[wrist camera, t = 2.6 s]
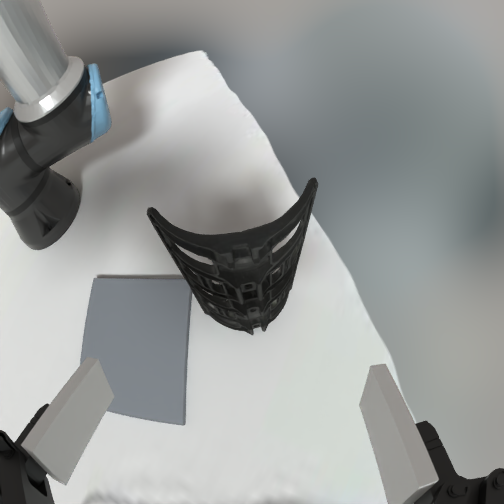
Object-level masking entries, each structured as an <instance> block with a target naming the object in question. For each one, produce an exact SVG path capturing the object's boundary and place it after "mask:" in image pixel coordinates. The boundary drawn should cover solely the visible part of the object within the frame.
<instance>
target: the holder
mask: <svg viewBox="0 0 504 504" xmlns="http://www.w3.org/2000/svg"><path fill="white" fill-rule="evenodd" d="M317 188H318V182H317V180H316V178H311V179H310V180H309V181H308V183H307V186H306V188H305V190H304V192H303V194H302V195H301V197H300V198H299V200H298V201H297V202H296V203H295V204H294V205H293V206H292V207H291V208H290V209H289V210H288V211H287V212H286V213H285V214H284V215H283V216H282V217H280V218H278V219H277V220H275V221H273V222H271V223H268V224H265V225H262V226H260V227H256V228H252V229H248V230H245V231H242V232H235V233H228V234H217V235H202V234H195V233H192V232H188V231H185V230H182V229H180V228H178V227H176V226H174V225H172V224H171V223H169V222H168V221H167V220H166V219H165V218H164V217H162V216H161V215H160V213H159V212H158V211H157V210H156V209H154V208H153V207H150V208H148V210H147V215H148V217H149V219H150V221H151V223H152V225H153V226H154V228H155V230H156V231H157V233H158V235H159V236H160V238H161V240H162V241H163V243H164V245H165V246H166V248H167V250H168V251H169V253H170V255H171V256H172V258H173V260H174V261H175V263H176V265H177V266H178V268H179V270H180V271H181V273H182V275H183V276H184V278H185V280H186V281H187V283H188V285H189V286H190V288H191V290H192V292H193V294H194V295H195V297H196V299H197V301H198V303H199V304H200V306H201V308H202V309H203V311H204V313H205V314H208V315H210V316H211V317H212V318H213V319H214V320H216V321H217V322H218V323H220V324H222V325H224V326H226V327H228V328H231V329H234V330H239V331H245V332H247V333H249V334H251V335H253V334H254V333H253V329H254V328H258V327H261V328H262V331H265V330H266V328H267V326H268V324H269V323H270V322H272V321H273V320H274V319H275V318H276V317H277V316H278V315H279V313H280V312H281V311H282V309H283V307H284V305H285V303H286V301H287V298H288V294H289V291H290V290H291V289H292V285H293V281H294V277H295V273H296V269H297V265H298V261H299V257H300V254H301V250H302V246H303V243H304V239H305V235H306V231H307V227H308V223H309V219H310V215H311V211H312V207H313V203H314V199H315V195H316V191H317ZM300 220H301V221H300ZM299 222H300V224H299V226H298V228H297V230H296V232H295V233H294V235H293V236H292V238H291V239H290V240H289V241H288V242H287V243H286V244H285V245H284V246H283V247H281V248H280V249H279V250H277V251H276V252H275V253H272V249H273V248H274V247H275V246H276V245H277V244H278V243H279V242H281V241H282V240H283V239H284V238H286V236H287V235H288V234H289V233H290V232H291V231H292V230H293V229H294V228H295V227H296V226H297V224H298V223H299ZM175 243H176V244H177V245H179V246H181V247H182V248H184V249H186V250H188V251H190V252H192V253H194V254H197V255H199V256H203V257H207V258H208V259H210V260H212V262H213V264H214V265H209V264H206V263H202V262H199V261H197V260H194V259H193V258H191V257H189V256H188V255H186V254H185V253H184V252H182V251H181V250H180V249H179V248H178V247H177V246H176V244H175ZM279 267H280V269H279V270H278V271H276V272H275V273H274V274H272V273H273V272H274V271H275V270H276V269H277V268H279ZM190 269H191V270H192V271H193V272H194V273H195V274H196V275H195V274H194V273H193V272H192V271H191V270H190ZM212 280H214V281H217V282H219V283H221V284H222V285H219V284H214V283H213V282H212ZM204 290H205V291H207V292H209V293H211V294H213V296H212V295H210V294H208V293H207V292H205V291H204Z"/></svg>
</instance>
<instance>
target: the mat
mask: <svg viewBox="0 0 504 504" xmlns="http://www.w3.org/2000/svg"><path fill="white" fill-rule="evenodd" d="M191 299H192V290H191V288H190V286H189V285H188V283H187V281H186V280H185V279H118V278H94V280H93V284H92V289H91V294H90V299H89V305H88V310H87V316H86V322H85V329H84V336H83V344H82V352H81V362H80V365H81V364H82V363H83V362H84V360H85V359H86V358H87V357H90V358H95V359H99V362H100V364H101V367H102V369H103V372H104V374H105V376H106V379H107V381H108V383H109V386H110V388H111V390H112V392H113V394H114V398H113V400H112V402H111V403H110V405H109V407H108V409H107V410H106V411H109V412H113V413H117V414H121V415H125V416H130V417H135V418H140V419H145V420H150V421H156V422H162V423H169V424H176V425H185V415H186V379H187V357H188V340H189V325H190V311H191Z"/></svg>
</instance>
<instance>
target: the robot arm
mask: <svg viewBox="0 0 504 504" xmlns="http://www.w3.org/2000/svg"><path fill="white" fill-rule="evenodd" d="M0 82H1V83H2V84H3V85H4V86H5V88H6V89H7V90H8V91H9V93H10V94H11V95H12V96H13V97H14V98H15V100H16V102H15V107H14V113H13V109H11V108H9V107H7V108H5V109H4V110H3V111H1V112H0V208H1V209H2V210H3V211H4V212H5V213H6V214H7V215H8V216H9V217H10V218H11V220H12V223H13V225H14V227H15V229H16V230H17V232H18V234H19V236H20V238H21V240H22V241H23V242H24V243H25V244H26V245H27V246H29V247H30V248H31V249H34V250H41V249H44V248H46V247H48V246H50V245H52V244H53V243H54V242H56V241H57V240H58V239H59V238H60V237H61V236H62V235H63V234H64V233H65V231H66V230H67V229H68V227H69V226H70V224H71V223H72V221H73V219H74V217H75V215H76V213H77V210H78V207H79V202H80V195H79V192H78V190H77V188H76V187H75V186H74V184H73V183H72V182H71V181H70V180H68V179H66V178H65V177H63V176H62V175H60V174H58V173H57V172H55V171H53V170H52V169H50V166H51V165H53V164H54V163H56V162H58V161H59V160H61V159H63V158H64V157H66V156H68V155H69V154H71V153H73V152H75V151H76V150H78V149H80V148H82V147H83V146H85V145H87V144H89V143H92V142H93V141H94V140H95V139H96V138H98V137H100V136H101V135H103V134H105V133H106V132H107V131H108V130H109V129H110V127H111V123H112V121H111V116H110V112H109V108H108V104H107V100H106V97H105V93H104V89H103V85H102V81H101V77H100V73H99V69H98V65H97V64H91V65H90V64H89V65H88V66H86V67H85V65H84V63H83V61H82V60H81V59H80V58H78V57H75V56H66V53H65V52H64V50H63V48H62V46H61V44H60V42H59V40H58V38H57V36H56V34H55V32H54V30H53V28H52V26H51V23H50V21H49V19H48V17H47V15H46V13H45V11H44V8H43V6H42V4H41V2H40V0H0ZM113 398H114V394H113V392H112V390H111V388H110V386H109V383H108V381H107V379H106V376H105V374H104V372H103V369H102V367H101V364H100V362H99V359H95V358H90V357H87V358H86V359H85V360H84V362H83V363H82V364H81V365H80V366H79V368H78V369H77V370H76V371H75V373H74V374H73V375H72V376H71V378H70V379H69V380H68V382H67V383H66V384H65V385H64V387H63V388H62V389H61V391H60V392H59V393H58V395H57V396H56V397H55V398H54V400H53V401H52V402H51V404H50V405H49V404H45V405H44V406H43V407H41V408H40V409H39V410H38V411H37V413H36V414H35V415H34V417H33V418H32V419H31V421H30V423H28V425H27V426H26V428H25V429H24V430H23V432H22V433H21V434H20V436H19V437H18V439H17V440H16V441H15V442H13V441H12V440H11V439H10V438H9V436H8V435H7V434H6V433H5V432H4V431H2V430H0V504H54V500H53V497H52V493H51V489H50V485H49V481H48V479H47V477H46V474H47V473H48V474H49V475H50V476H51V477H52V478H53V479H54V480H56V481H58V482H60V483H62V484H64V485H67V483H68V481H69V479H70V477H71V475H72V473H73V471H74V469H75V467H76V465H77V463H78V461H79V459H80V457H81V456H82V454H83V452H84V450H85V448H86V446H87V444H88V443H89V441H90V439H91V437H92V435H93V433H94V432H95V430H96V428H97V426H98V424H99V423H100V421H101V419H102V417H103V416H104V414H105V412H106V410H107V409H108V407H109V405H110V403H111V402H112V400H113ZM359 406H360V409H361V412H362V415H363V418H364V421H365V424H366V428H367V431H368V434H369V437H370V441H371V444H372V447H373V451H374V454H375V457H376V461H377V464H378V468H379V471H380V475H381V479H382V482H383V486H384V490H385V494H386V498H387V502H388V504H413V503H414V504H504V469H502V468H499V469H495V470H494V471H493V472H491V473H490V474H489V475H488V476H486V477H481V478H476V479H466V478H464V477H462V476H459V475H458V474H457V473H456V472H455V470H454V468H453V465H452V463H451V461H450V459H449V457H448V455H447V453H446V450H445V448H444V446H442V445H443V444H442V442H441V440H440V439H439V436H438V434H437V432H436V430H435V428H434V427H433V426H432V425H431V424H430V423H428V422H427V421H423V422H420V423H417V424H415V422H414V420H413V418H412V416H411V414H410V412H409V410H408V408H407V406H406V403H405V401H404V399H403V397H402V395H401V393H400V391H399V389H398V387H397V385H396V383H395V381H394V379H393V377H392V375H391V373H390V372H389V370H388V368H387V366H386V364H380V365H373V366H370V370H369V373H368V377H367V381H366V384H365V388H364V391H363V394H362V398H361V401H360V404H359Z"/></svg>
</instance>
